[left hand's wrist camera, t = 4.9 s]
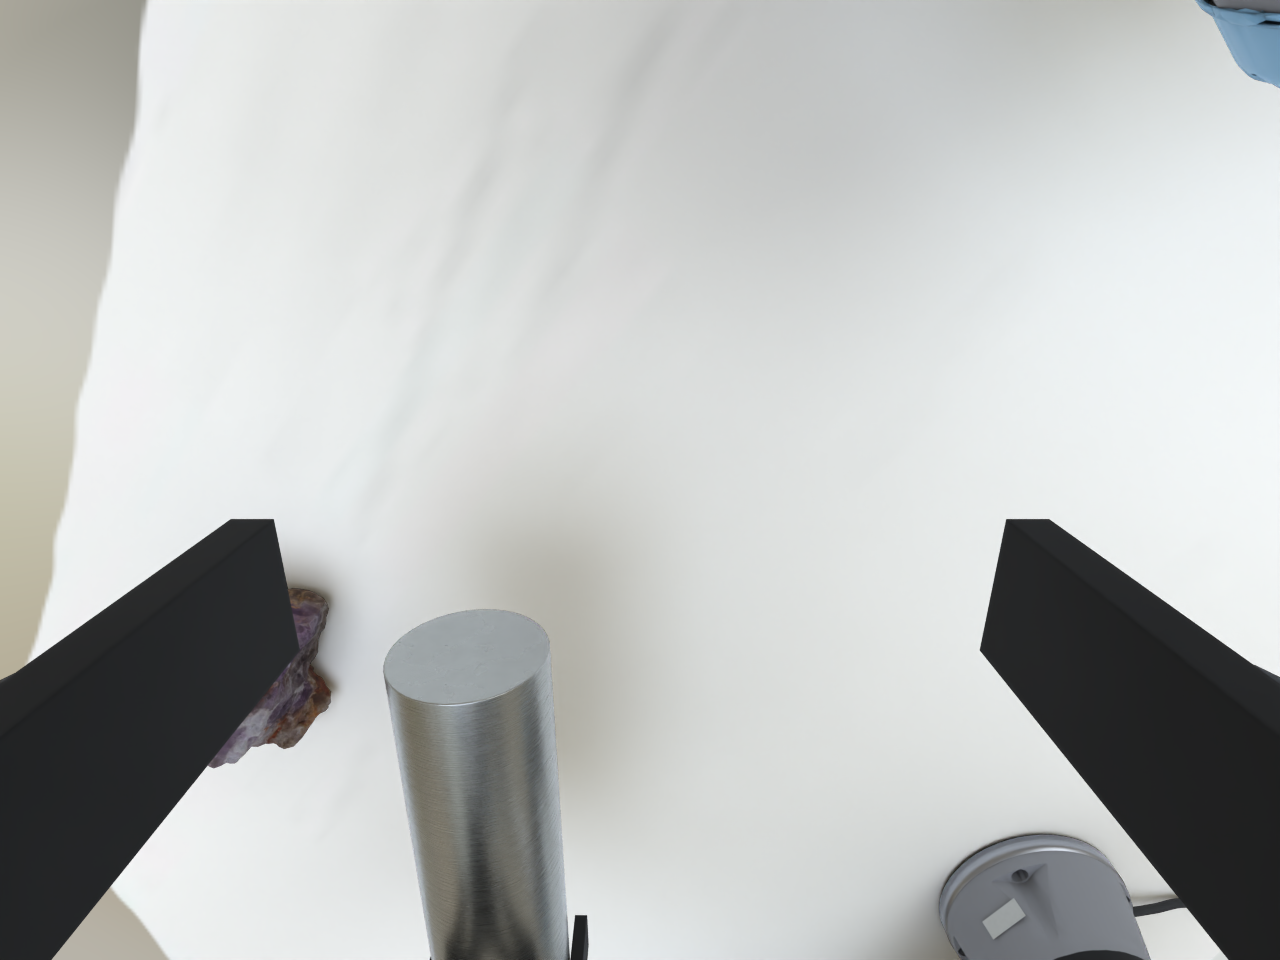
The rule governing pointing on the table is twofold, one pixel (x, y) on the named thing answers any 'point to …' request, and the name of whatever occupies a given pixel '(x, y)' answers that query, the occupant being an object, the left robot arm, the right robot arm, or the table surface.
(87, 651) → the left robot arm
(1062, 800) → the table surface
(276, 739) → the rock
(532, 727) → the rod
